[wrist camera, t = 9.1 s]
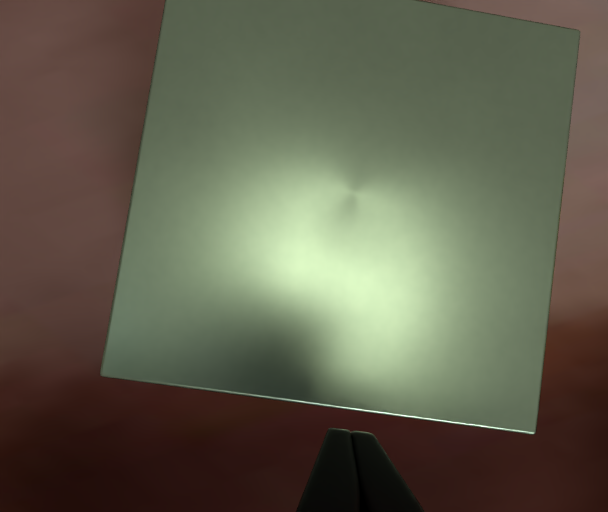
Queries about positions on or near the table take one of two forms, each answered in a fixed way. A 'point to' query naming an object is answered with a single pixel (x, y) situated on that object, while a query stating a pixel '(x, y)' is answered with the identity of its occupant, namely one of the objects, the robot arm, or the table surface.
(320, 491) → the robot arm
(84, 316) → the table surface
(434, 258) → the lid
